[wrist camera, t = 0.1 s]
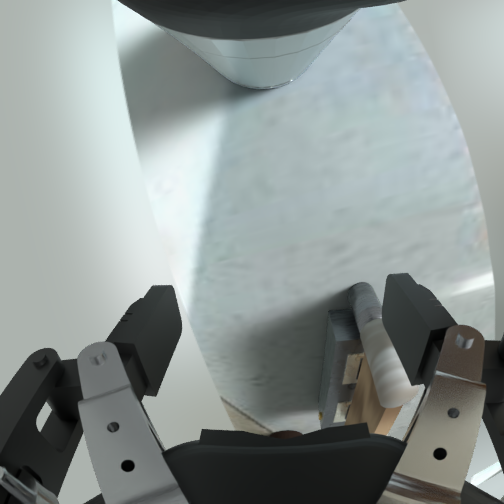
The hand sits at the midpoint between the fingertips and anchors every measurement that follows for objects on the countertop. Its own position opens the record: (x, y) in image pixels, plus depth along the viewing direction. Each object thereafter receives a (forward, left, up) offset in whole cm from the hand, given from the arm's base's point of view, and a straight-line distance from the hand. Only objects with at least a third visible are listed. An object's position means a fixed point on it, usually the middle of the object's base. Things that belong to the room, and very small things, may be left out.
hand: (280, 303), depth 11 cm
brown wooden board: (+20, +9, -11) cm, 25 cm away
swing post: (+12, +9, -17) cm, 23 cm away
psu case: (+23, +9, -17) cm, 30 cm away
